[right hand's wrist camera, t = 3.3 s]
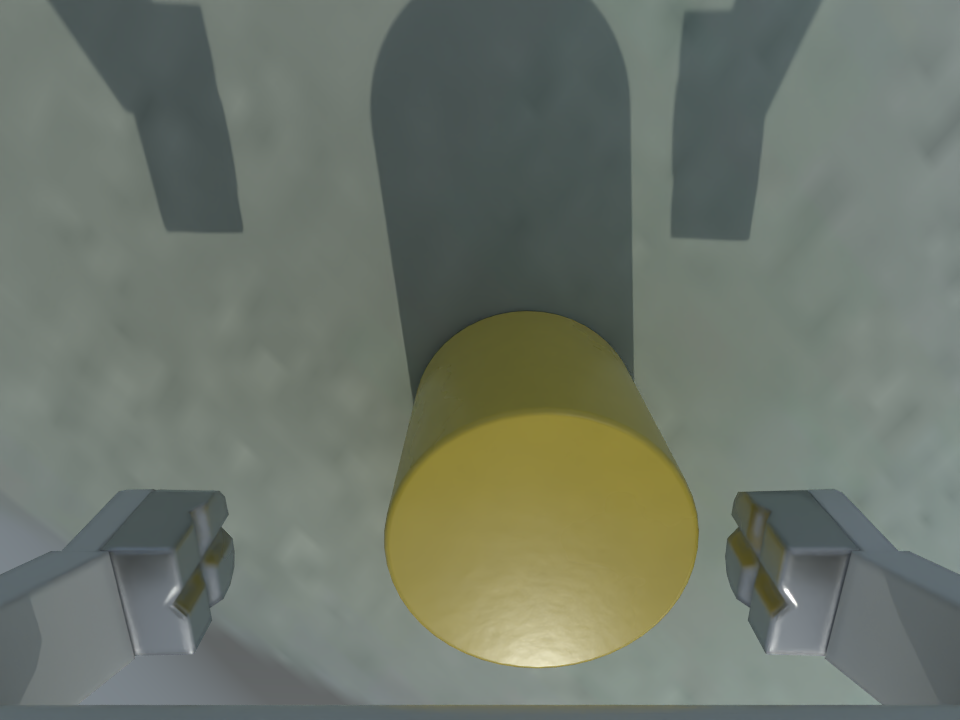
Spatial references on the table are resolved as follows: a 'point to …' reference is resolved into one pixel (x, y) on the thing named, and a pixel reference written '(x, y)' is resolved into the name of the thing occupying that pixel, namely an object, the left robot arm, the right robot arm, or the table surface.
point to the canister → (536, 498)
